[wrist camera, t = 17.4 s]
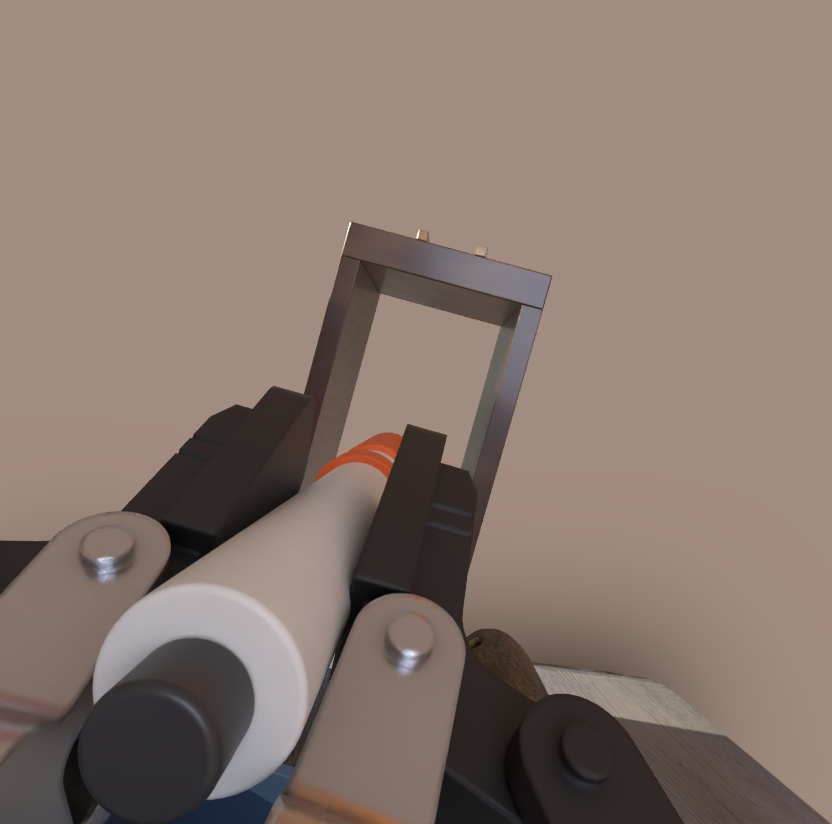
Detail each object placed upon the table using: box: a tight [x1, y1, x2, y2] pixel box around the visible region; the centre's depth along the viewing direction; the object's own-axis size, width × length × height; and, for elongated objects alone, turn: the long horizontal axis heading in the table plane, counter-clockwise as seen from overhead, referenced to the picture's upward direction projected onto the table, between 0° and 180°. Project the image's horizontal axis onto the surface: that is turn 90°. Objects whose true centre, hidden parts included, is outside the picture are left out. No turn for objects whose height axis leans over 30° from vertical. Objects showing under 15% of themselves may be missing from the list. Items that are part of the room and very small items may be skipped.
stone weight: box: [466, 629, 549, 702], centre depth 40 cm, size 15×7×7 cm, turn 11°
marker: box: [78, 433, 403, 824], centre depth 12 cm, size 17×2×2 cm, turn 179°
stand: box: [299, 222, 552, 571], centre depth 38 cm, size 12×11×33 cm
